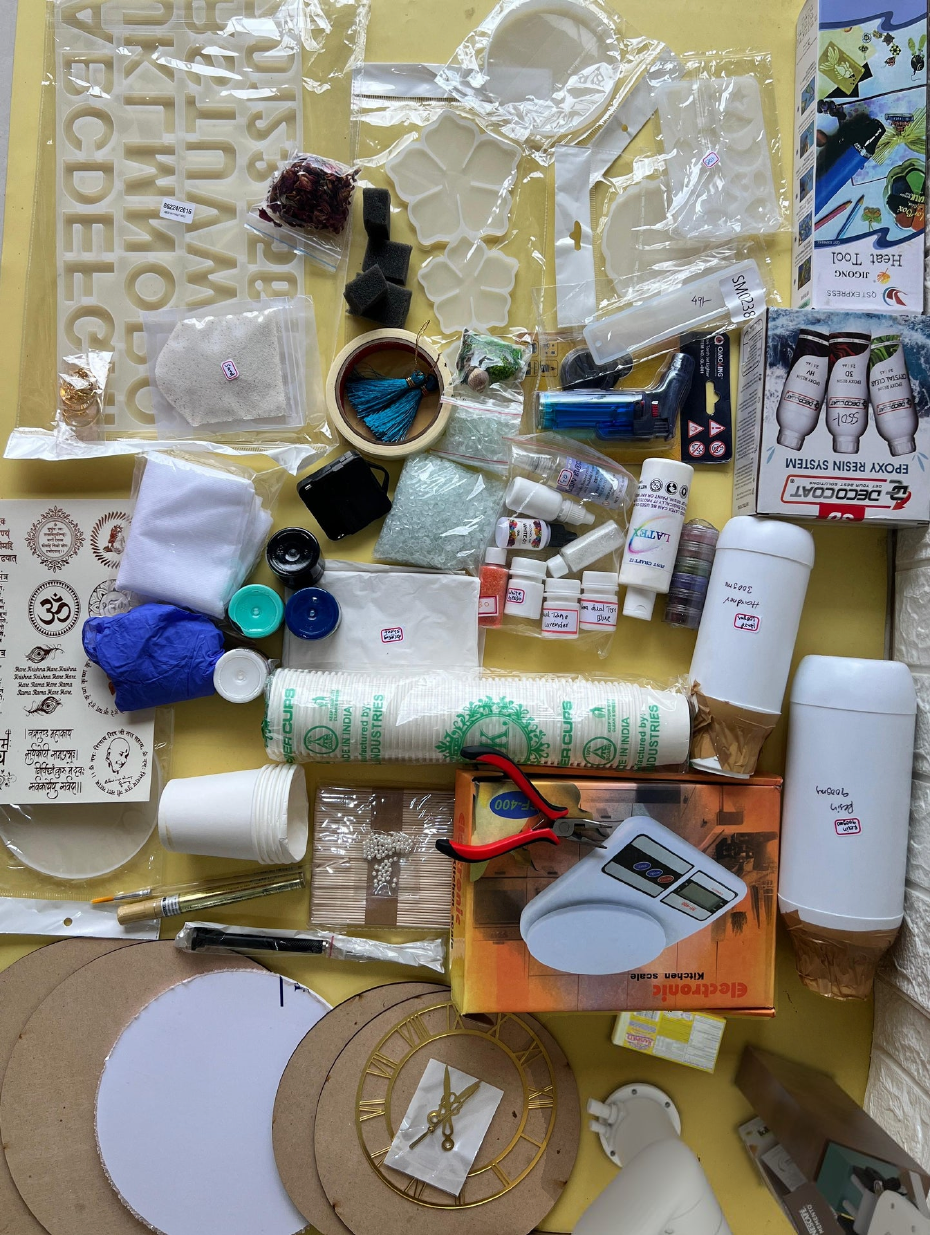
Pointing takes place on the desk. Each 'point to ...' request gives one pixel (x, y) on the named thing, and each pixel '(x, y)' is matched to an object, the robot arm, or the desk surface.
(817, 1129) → the brown slanted block
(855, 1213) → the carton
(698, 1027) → the candy box
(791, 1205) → the coffee box
